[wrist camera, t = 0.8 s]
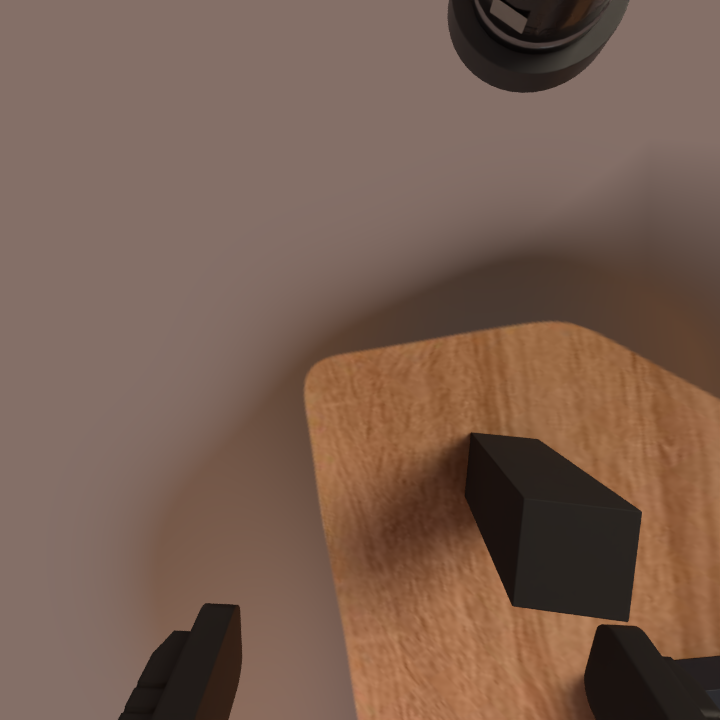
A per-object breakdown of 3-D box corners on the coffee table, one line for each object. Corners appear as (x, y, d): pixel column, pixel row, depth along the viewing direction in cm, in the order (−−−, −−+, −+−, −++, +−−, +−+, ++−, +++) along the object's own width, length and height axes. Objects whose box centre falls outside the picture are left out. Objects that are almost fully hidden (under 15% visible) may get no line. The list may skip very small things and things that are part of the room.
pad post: (470, 432, 28) (523, 497, 17) (538, 439, 28) (642, 511, 16) (464, 496, 29) (512, 606, 17) (531, 504, 28) (629, 622, 16)
